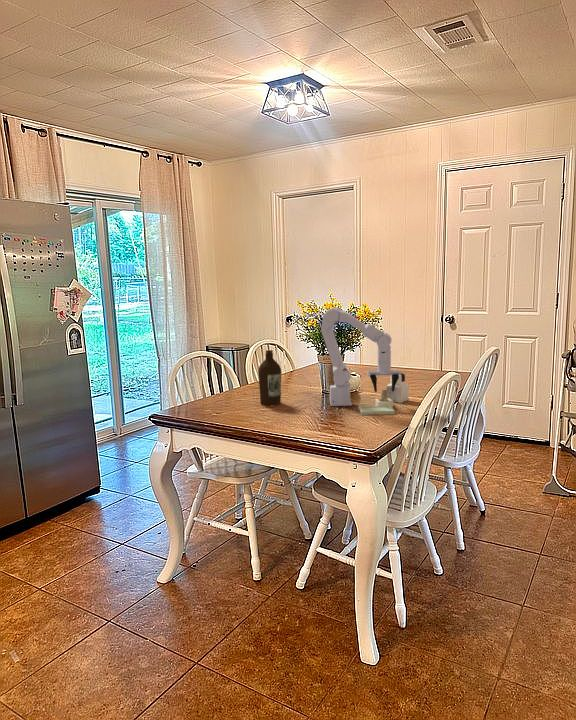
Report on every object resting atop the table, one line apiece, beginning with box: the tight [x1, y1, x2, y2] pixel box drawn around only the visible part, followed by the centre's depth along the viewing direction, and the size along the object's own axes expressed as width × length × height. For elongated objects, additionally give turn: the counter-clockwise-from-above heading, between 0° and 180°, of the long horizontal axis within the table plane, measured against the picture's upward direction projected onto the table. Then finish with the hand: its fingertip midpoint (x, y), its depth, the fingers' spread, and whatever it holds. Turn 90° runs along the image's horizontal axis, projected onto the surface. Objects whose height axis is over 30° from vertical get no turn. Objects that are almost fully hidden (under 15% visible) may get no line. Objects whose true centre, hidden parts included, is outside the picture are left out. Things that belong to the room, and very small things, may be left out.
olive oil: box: [257, 349, 282, 406], centre depth 248 cm, size 11×11×25 cm
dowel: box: [380, 388, 387, 402], centre depth 240 cm, size 3×3×8 cm
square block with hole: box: [374, 398, 394, 409], centre depth 240 cm, size 7×7×3 cm
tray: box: [357, 405, 396, 416], centre depth 232 cm, size 14×10×1 cm
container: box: [386, 372, 410, 404], centre depth 250 cm, size 8×8×13 cm
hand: (384, 391), depth 239 cm, fingers open, 7 cm apart
